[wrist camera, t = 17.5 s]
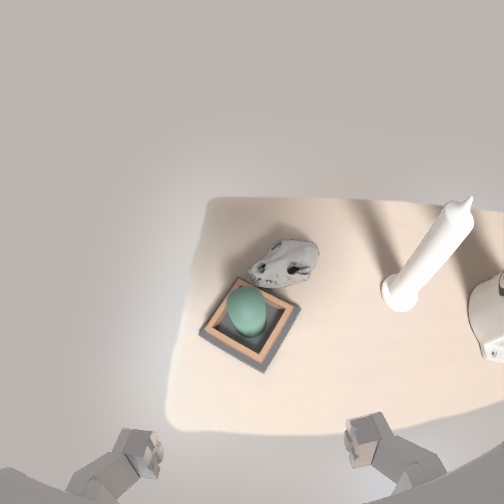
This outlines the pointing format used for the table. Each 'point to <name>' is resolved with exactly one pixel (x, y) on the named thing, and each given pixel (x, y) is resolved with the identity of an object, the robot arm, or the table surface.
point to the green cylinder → (247, 311)
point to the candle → (429, 255)
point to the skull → (284, 264)
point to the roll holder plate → (259, 348)
